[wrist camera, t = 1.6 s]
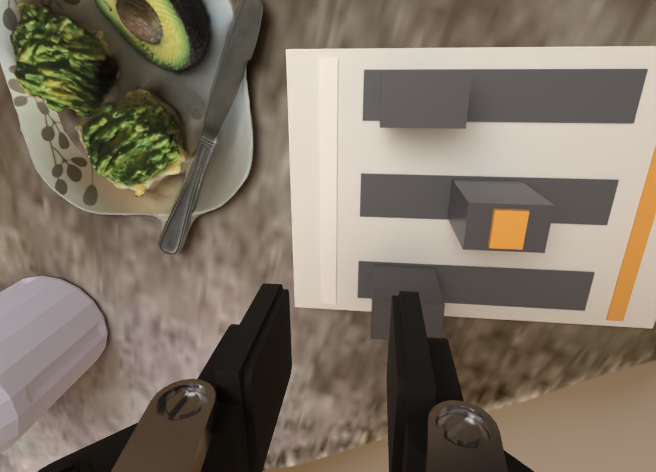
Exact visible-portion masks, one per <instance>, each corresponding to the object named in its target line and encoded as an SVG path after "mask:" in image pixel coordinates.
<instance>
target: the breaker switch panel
mask: <svg viewBox="0 0 656 472" xmlns="http://www.w3.org/2000/svg"><path fill="white" fill-rule="evenodd" d="M286 65H287V94H288V123H289V152H290V180H291V209H292V238H293V266H294V295H295V307H303V308H320V309H337V310H353V311H370V312H371V339H386V340H389V332H390V316H391V300H392V295H396V296H399V291H412V292H419V296H420V302H421V307H422V313H423V318H424V323H425V329H426V334H427V337H434V338H441V335H442V327H443V318H444V316H453V317H469V318H486V319H503V320H519V321H536V322H553V323H569V324H586V325H602V326H619V327H636V328H652V329H653V326H654V323H655V320H656V46H605V47H487V48H369V49H286ZM452 179H466V180H506V181H522V182H523V183H525V184H526V185H527V186H529V187H530V188H532V189H533V190H534V191H536V192H537V193H538V194H540V195H541V196H542V197H544V198H545V199H547V200H548V201H549V202H551V203H552V204H553V205H555V206H554V211H553V215H552V220H551V225H550V230H549V235H548V239H547V244H546V249H545V253H532V252H509V251H486V250H463V249H462V247H461V245H460V243H459V241H458V239H457V236H456V234H455V232H454V230H453V228H452V226H451V224H450V222H449V220H448V211H449V202H450V193H451V184H452Z"/></svg>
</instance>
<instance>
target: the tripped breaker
mask: <svg viewBox="0 0 656 472" xmlns="http://www.w3.org/2000/svg"><path fill="white" fill-rule="evenodd" d="M554 206H555V205H553V204H552V203H551V202H549V201H548V200H547V199H545V198H544V197H542V196H541V195H540V194H538V193H537V192H536V191H534V190H533V189H532V188H530V187H529V186H527V185H526V184H525V183H523V182H522V181H506V180H466V179H452V184H451V193H450V202H449V211H448V220H449V222H450V224H451V226H452V228H453V230H454V232H455V234H456V236H457V239H458V241H459V243H460V245H461V247H462V249H463V250H486V251H509V252H532V253H545V249H546V244H547V239H548V235H549V230H550V225H551V220H552V215H553V211H554Z"/></svg>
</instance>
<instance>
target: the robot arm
mask: <svg viewBox="0 0 656 472" xmlns="http://www.w3.org/2000/svg"><path fill="white" fill-rule="evenodd" d="M291 369H292V355H291V330H290V305H289V291H288V289H283V287H282V284H265V283H263V284H262V286H261V287H260V289H259V291H258V293H257V295H256V296H255V298H254V300H253V302H252V304H251V305H250V307H249V309H248V311H247V312H246V314H245V316H244V318H243V320H242V321H241V323H240V325H236V324H232V325H230V326H229V327H228V329H227V331H226V332H225V334H224V336H223V337H222V339H221V341H220V342H219V344H218V346H217V347H216V349H215V351H214V352H213V354H212V356H211V357H210V359H209V361H208V362H207V364H206V366H205V367H204V369H203V371H202V372H201V374H200V376H199V377H198V379H187V380H181V381H178V382H174V383H172V384H170V385H168V386H166V387H164V388H163V389H162V390H160V391H159V392H158V393H157V394H156V395H155V396H154V397H153V399H152V400H151V402H150V403H149V405H148V407H147V409H146V410H145V412H144V414H143V416H142V418H141V419H140V421H139V422H138V423H136V424H134V425H132V426H130V427H128V428H125V429H123V430H121V431H119V432H117V433H115V434H113V435H110V436H108V437H106V438H104V439H102V440H100V441H98V442H95V443H93V444H91V445H89V446H87V447H85V448H82V449H80V450H78V451H76V452H74V453H72V454H70V455H67V456H65V457H63V458H61V459H59V460H57V461H55V462H53V463H51V464H49V465H47V466H46V467H44V468H42V469H40V470H39V471H38V472H262V470H263V467H264V463H265V460H266V456H267V453H268V450H269V446H270V443H271V439H272V436H273V433H274V429H275V426H276V423H277V419H278V416H279V412H280V409H281V406H282V402H283V399H284V396H285V392H286V389H287V385H288V382H289V379H290V375H291ZM387 410H388V447H389V472H534V471H532V470H531V469H530V468H528V467H527V466H525V465H524V464H522V463H521V462H520V461H518V460H517V459H516V458H514V457H513V456H511V455H510V454H508V453H507V452H506V451H504V450H503V446H502V441H501V436H500V431H499V429H498V427H497V424H496V422H495V421H494V420H493V419H492V417H491V416H490V415H489V414H488V413H486V412H485V411H484V410H482V409H481V408H479V407H477V406H475V405H473V404H471V403H467V402H464V400H463V396H462V393H461V389H460V385H459V381H458V377H457V373H456V370H455V366H454V362H453V358H452V354H451V351H450V347H449V343H448V340H447V339H446V338H434V337H427V334H426V329H425V323H424V318H423V313H422V307H421V302H420V296H419V292H412V291H399V296H396V295H392V300H391V316H390V332H389V347H388V363H387Z"/></svg>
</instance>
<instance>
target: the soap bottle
mask: <svg viewBox="0 0 656 472" xmlns="http://www.w3.org/2000/svg"><path fill="white" fill-rule="evenodd" d="M107 335H108V330H107V327H106V323H105V319H104V316H103V314H102V313H101V311H100V310H99V308H98V307H97V305H96V303H95V302H94V301H93V300H92V299H91V298H90V297H89V296H88V295H87V294H86V293H84V292H83V291H82V290H81V289H80V288H79V287H77V286H75V285H73V284H71V283H69V282H67V281H65V280H63V279H59V278H54V277H49V276H37V277H30V278H24V279H22V280H21V281H19V282H17V283H15V284H14V285H12V286H10V287H8V288H7V289H5V290H3V291H1V292H0V453H1V452H3V451H5V450H7V449H9V448H10V447H11V446H12V445H13V444H14V443H15V442H16V441H17V440H18V439H19V438H20V437H21V436H22V435H23V434H24V433H25V432H26V431H27V430H28V429H29V428H30V427H31V426H32V425H33V424H34V423H35V422H36V421H37V420H38V419H39V418H40V417H41V416H42V415H43V414H44V413H45V412H46V411H47V410H48V409H49V408H50V407H51V406H52V405H53V404H54V403H55V402H56V401H57V400H58V399H59V398H60V397H61V396H62V395H63V394H64V393H65V392H66V391H67V390H68V389H69V388H70V387H71V386H72V385H73V384H74V383H75V382H76V381H77V380H78V379H79V378H80V377H81V376H82V375H83V374H84V373H85V372H86V371H87V370H88V369H89V368H90V367H91V366H92V365H93V364H94V363H95V362H96V361H97V360H98V358H99V357H100V355H101V354H102V352H103V351H104V350H105V347H106V342H107Z"/></svg>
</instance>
